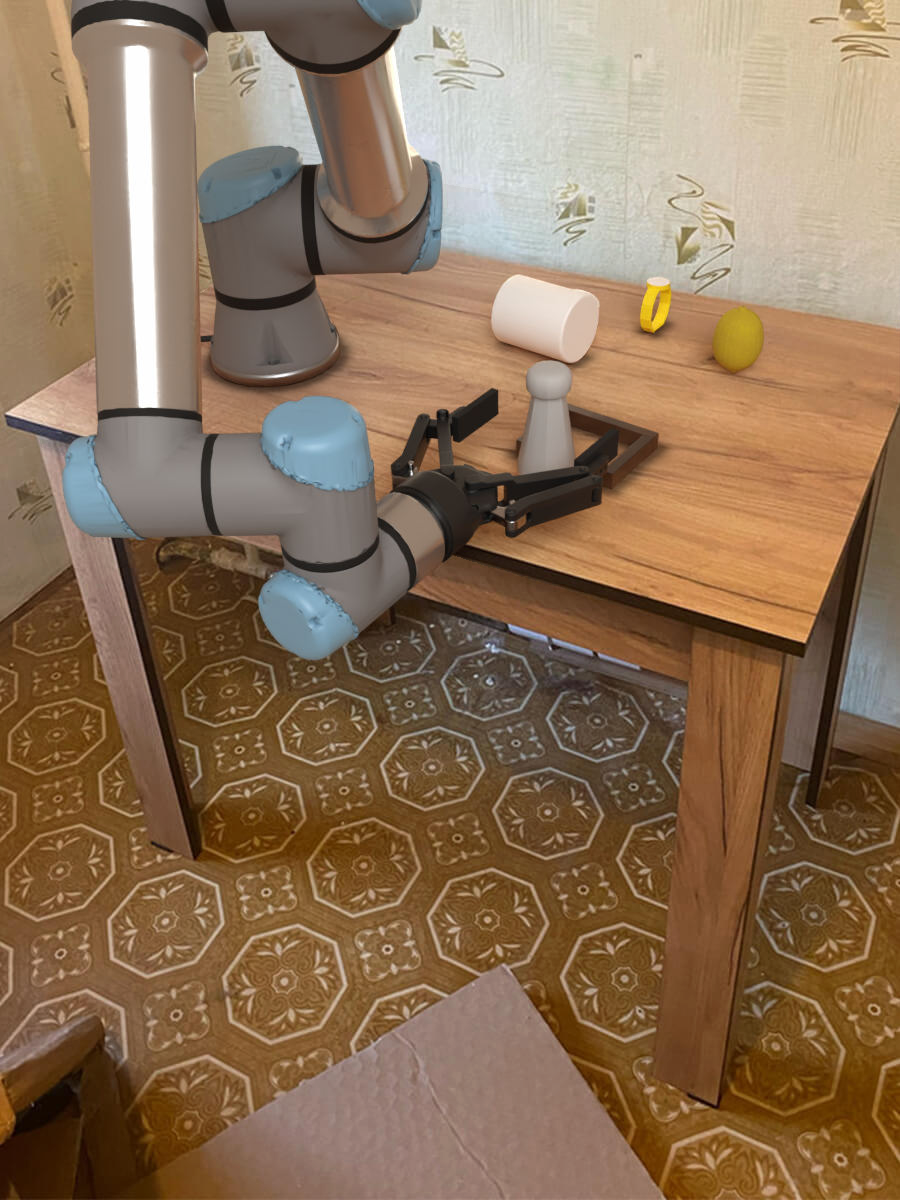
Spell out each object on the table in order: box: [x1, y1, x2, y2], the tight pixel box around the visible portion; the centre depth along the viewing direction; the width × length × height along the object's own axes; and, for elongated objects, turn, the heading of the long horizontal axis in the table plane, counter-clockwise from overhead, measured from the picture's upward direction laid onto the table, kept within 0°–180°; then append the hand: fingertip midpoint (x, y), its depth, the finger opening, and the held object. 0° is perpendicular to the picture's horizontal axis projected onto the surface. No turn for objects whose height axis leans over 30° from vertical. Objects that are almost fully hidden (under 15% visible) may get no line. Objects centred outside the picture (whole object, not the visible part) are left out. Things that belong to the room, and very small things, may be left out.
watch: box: [639, 276, 673, 334], centre depth 133 cm, size 6×3×6 cm, turn 147°
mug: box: [490, 274, 601, 364], centre depth 130 cm, size 12×10×8 cm
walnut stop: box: [515, 402, 660, 490], centre depth 113 cm, size 11×9×2 cm
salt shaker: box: [516, 359, 577, 475], centre depth 105 cm, size 6×6×13 cm
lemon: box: [711, 305, 765, 374], centre depth 123 cm, size 6×6×8 cm
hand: (553, 420), depth 106 cm, fingers open, 13 cm apart
